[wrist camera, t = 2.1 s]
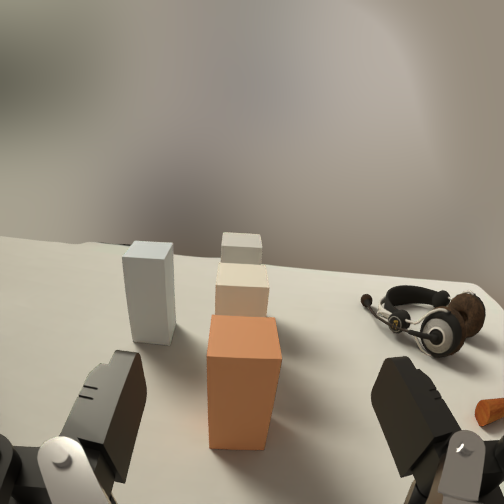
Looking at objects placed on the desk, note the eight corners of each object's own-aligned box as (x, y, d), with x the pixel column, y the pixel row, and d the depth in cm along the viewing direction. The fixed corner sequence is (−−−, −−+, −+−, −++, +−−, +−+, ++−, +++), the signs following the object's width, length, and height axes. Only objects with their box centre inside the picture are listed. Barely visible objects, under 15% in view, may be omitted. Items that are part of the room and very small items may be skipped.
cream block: (214, 376, 34) (215, 284, 29) (216, 349, 38) (218, 262, 34) (258, 378, 34) (269, 287, 29) (256, 350, 39) (265, 265, 34)
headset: (457, 326, 31) (347, 280, 48) (441, 378, 33) (342, 324, 50) (496, 294, 39) (406, 264, 56) (484, 336, 41) (401, 301, 58)
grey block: (218, 326, 43) (221, 245, 38) (220, 307, 47) (223, 232, 43) (254, 328, 43) (262, 247, 39) (253, 308, 48) (259, 234, 43)
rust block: (209, 448, 24) (206, 356, 20) (212, 409, 29) (211, 314, 24) (263, 449, 25) (282, 358, 20) (260, 411, 29) (274, 317, 25)
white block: (133, 341, 38) (121, 256, 33) (142, 320, 42) (134, 240, 38) (169, 345, 38) (164, 259, 33) (176, 323, 42) (173, 242, 38)
